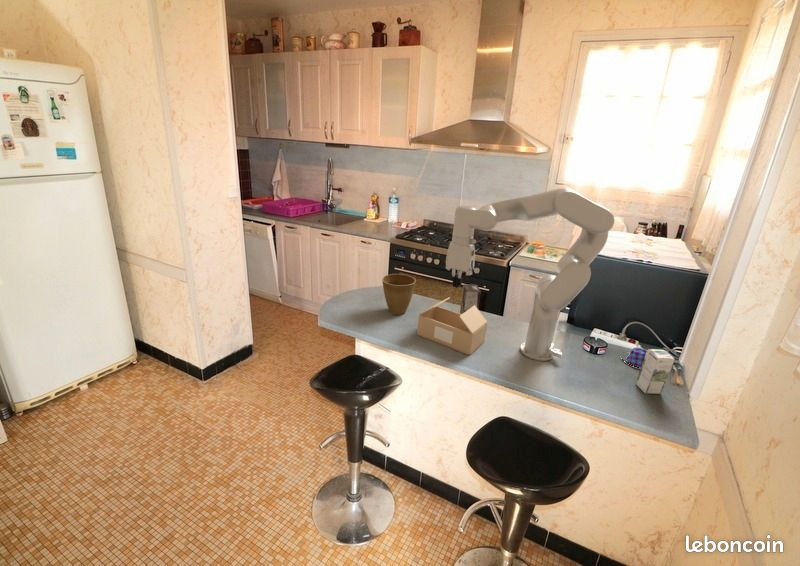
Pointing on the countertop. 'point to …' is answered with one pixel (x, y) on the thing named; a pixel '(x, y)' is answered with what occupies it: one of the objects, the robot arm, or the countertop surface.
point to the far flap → (434, 305)
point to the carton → (449, 330)
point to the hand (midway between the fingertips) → (456, 286)
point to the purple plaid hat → (636, 357)
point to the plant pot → (398, 292)
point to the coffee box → (470, 297)
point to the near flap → (473, 319)
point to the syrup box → (654, 371)
